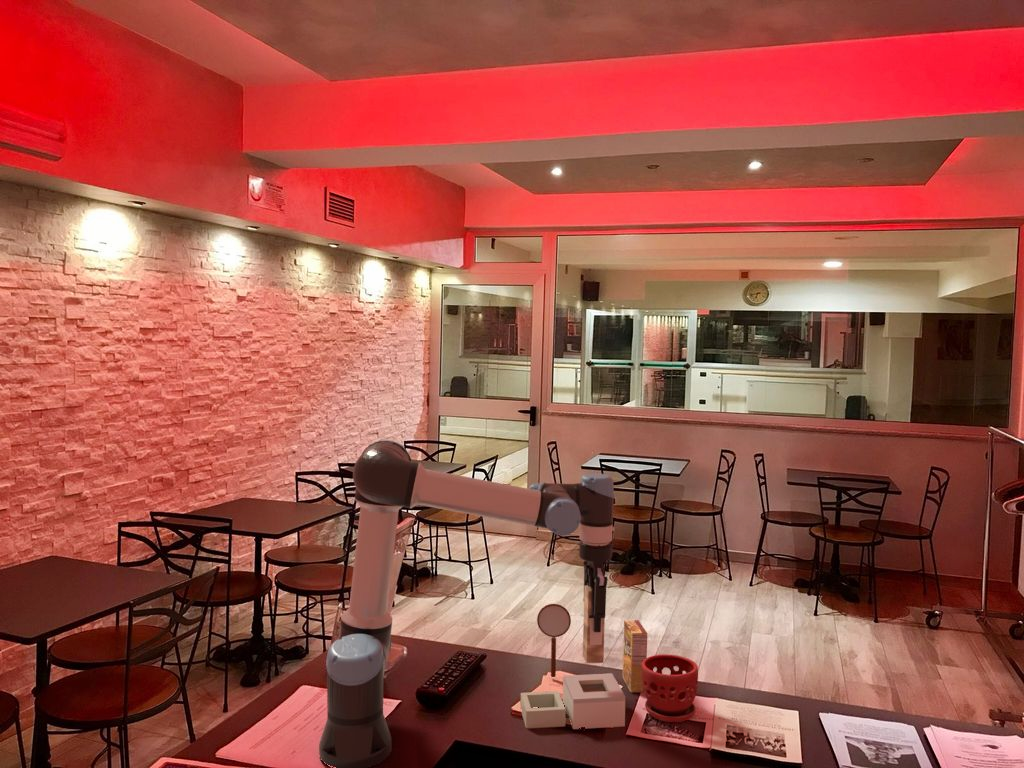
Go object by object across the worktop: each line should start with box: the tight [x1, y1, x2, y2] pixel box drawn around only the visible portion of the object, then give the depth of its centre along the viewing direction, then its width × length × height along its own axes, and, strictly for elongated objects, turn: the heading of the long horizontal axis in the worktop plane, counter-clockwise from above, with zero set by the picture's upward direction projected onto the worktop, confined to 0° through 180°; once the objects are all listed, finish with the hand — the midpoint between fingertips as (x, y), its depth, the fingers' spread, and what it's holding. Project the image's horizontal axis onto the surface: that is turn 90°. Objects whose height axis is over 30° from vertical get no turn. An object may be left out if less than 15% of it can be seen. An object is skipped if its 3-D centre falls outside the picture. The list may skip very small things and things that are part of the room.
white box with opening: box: [562, 672, 626, 730], centre depth 183 cm, size 12×12×7 cm
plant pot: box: [641, 653, 699, 723], centre depth 184 cm, size 13×13×12 cm
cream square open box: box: [520, 690, 566, 729], centre depth 182 cm, size 9×9×4 cm
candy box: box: [622, 619, 648, 694], centre depth 198 cm, size 9×4×15 cm, turn 6°
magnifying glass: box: [536, 603, 572, 678], centre depth 201 cm, size 9×2×20 cm, turn 85°
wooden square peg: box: [582, 585, 606, 664], centre depth 182 cm, size 4×4×17 cm
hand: (593, 640), depth 182 cm, fingers closed on wooden square peg, 4 cm apart
